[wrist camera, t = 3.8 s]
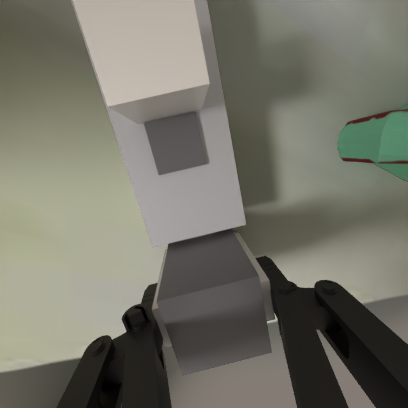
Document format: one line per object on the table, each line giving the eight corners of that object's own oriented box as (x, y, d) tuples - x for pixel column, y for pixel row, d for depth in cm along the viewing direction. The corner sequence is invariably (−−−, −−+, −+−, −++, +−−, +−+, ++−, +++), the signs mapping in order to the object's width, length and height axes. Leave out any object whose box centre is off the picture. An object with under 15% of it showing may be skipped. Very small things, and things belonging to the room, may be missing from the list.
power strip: (160, 226, 18) (150, 251, 13) (0, -289, 10) (-156, -659, 5) (233, 209, 18) (248, 227, 13) (134, -313, 10) (91, -692, 5)
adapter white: (137, 124, 12) (107, 106, 7) (115, 48, 10) (63, -27, 6) (201, 109, 12) (209, 83, 7) (185, 32, 11) (184, -52, 6)
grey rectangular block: (185, 275, 19) (183, 377, 10) (162, 195, 17) (135, 241, 8) (233, 263, 19) (272, 354, 10) (217, 182, 17) (248, 213, 8)
